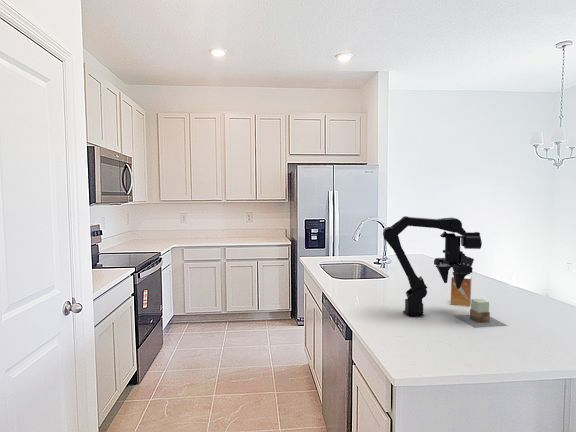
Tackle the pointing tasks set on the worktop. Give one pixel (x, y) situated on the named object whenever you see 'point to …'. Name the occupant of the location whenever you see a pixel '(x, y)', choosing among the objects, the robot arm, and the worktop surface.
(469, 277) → the small box
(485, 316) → the walnut block
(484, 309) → the sage block
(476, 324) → the slate mat
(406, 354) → the worktop surface
